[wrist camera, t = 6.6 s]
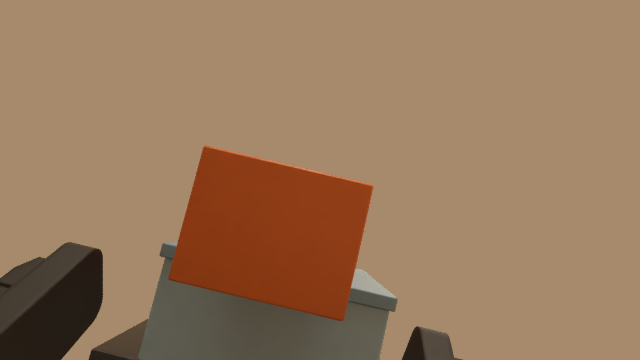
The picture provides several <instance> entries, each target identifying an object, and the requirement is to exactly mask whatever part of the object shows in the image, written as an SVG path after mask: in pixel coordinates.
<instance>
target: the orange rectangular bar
mask: <svg viewBox="0 0 640 360" xmlns="http://www.w3.org/2000/svg"><path fill="white" fill-rule="evenodd" d="M372 191H373V185H371V184H367V183H363V182H359V181H354V180H350V179H346V178H342V177H337V176H333V175H329V174H324V173H320V172H316V171H312V170H308V169H303V168H299V167H295V166H290V165H286V164H282V163H278V162H273V161H269V160H265V159H261V158H256V157H252V156H247V155H244V154H239V153H235V152H231V151H226V150H222V149H218V148H213V147H210V146H204V147H203V151H202V155H201V159H200V162H199V166H198V169H197V173H196V177H195V181H194V185H193V188H192V192H191V195H190V199H189V203H188V206H187V210H186V214H185V217H184V221H183V225H182V228H181V232H180V236H179V240H178V243H177V247H176V251H175V254H174V258H173V262H172V265H171V269H170V273H169V276H168V279H169V280H171V281H175V282H179V283H183V284H188V285H192V286H196V287H200V288H204V289H209V290H213V291H217V292H221V293H225V294H229V295H234V296H238V297H242V298H246V299H250V300H255V301H259V302H263V303H267V304H271V305H276V306H280V307H284V308H288V309H292V310H297V311H301V312H305V313H309V314H313V315H317V316H322V317H326V318H330V319H334V320H338V321H343V320H344V317H345V313H346V308H347V304H348V299H349V295H350V290H351V286H352V281H353V277H354V272H355V268H356V263H357V258H358V254H359V249H360V245H361V240H362V236H363V232H364V227H365V222H366V218H367V213H368V209H369V204H370V199H371V195H372Z"/></svg>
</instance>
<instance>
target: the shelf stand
mask: <svg viewBox="0 0 640 360" xmlns="http://www.w3.org/2000/svg"><path fill="white" fill-rule="evenodd" d="M147 323H148V319H147V320H145V321H143V322H141V323H139V324H138V325H136V326H134V327H132V328H130V329H128V330H127V331H125V332H123V333H121V334H119V335H117V336H116V337H114V338H112V339H110V340H108V341H106V342H105V343H103V344H101V345H99V346H97V347H95V348H93V349H92V350H91V354H90V357H89V360H139V359H138V356H139V352H140V348H141V345H142V341H143V337H144V334H145V330H146V326H147Z"/></svg>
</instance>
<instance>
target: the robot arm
mask: <svg viewBox="0 0 640 360" xmlns="http://www.w3.org/2000/svg"><path fill="white" fill-rule="evenodd" d="M102 298H103V255H102V252H101V250H99V249H96V248H92V247H88V246H84V245H80V244H75V243H71V242H68V243H65V244H64V245H62V246H61V247H60V248H58V249H57V250H56V251H55V252H53V253H52V254H51V255H50V256H48V257H47V258H46V259H45V258H41V257H38V258H36V259H33V260H31V261H29V262H26V263H24V264H22V265H19V266H17V267H15V268H13V269H12V270H11V271H9V272H8V273H7V274H5V275H4V276H3V277H2V278H0V360H61V359H62V358H63V357H64V356H65V354H66V353H67V352H68V351H69V350H70V348H71V347H72V346H73V345H74V344H75V342H76V341H77V340H78V339H79V338H80V337H81V335H82V334H83V333H84V332H85V331H86V330H87V329H88V327H89V326H90V325H91V324H92V323H93V321H94V320H95V318H96V316H97V314H98V312H99V310H100V307H101V303H102ZM402 360H462V359H457V358H454V356H453V351H452V347H451V343H450V339H449V336H448V335H447V334H446V333H443V332H438V331H435V330H431V329H426V328H422V327H416V328H415V329H414V330H413V332H412V335H411V338H410V340H409V343H408V345H407V348H406V351H405V353H404V356H403V358H402Z"/></svg>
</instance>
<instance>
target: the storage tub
mask: <svg viewBox="0 0 640 360" xmlns="http://www.w3.org/2000/svg"><path fill="white" fill-rule="evenodd" d="M177 243H178V241H177V242H168V243H163V244H162V248H161V252H160V256H161V257H165V260H164V264H163V268H162V272H161V275H160V279H159V282H158V286H157V290H156V294H155V297H154V301H153V304H152V308H151V312H150V315H149V319H148V323H147V326H146V330H145V334H144V337H143V341H142V345H141V348H140V352H139V356H138V359H139V360H379V358H380V353H381V348H382V343H383V339H384V334H385V329H386V324H387V320H388V315H389V311H393V312H394V311H395V309H396V304H397V298H396V297H395V296H394V295H393V294H391V293H390V292H389V291H388V290H387V289H385V288H384V287H383V286H382V285H380V284H379V283H378V282H377V281H375V279H373V278H372V277H371V276H370V275H369V274H367V273H366V272H365V271H364V270H361V269H356V268H355V272H354V277H353V281H352V286H351V290H350V295H349V299H348V304H347V308H346V313H345V317H344V320H343V321H338V320H334V319H330V318H326V317H322V316H317V315H313V314H309V313H305V312H301V311H297V310H292V309H288V308H284V307H280V306H276V305H271V304H267V303H263V302H259V301H255V300H250V299H246V298H242V297H238V296H234V295H229V294H225V293H221V292H217V291H213V290H209V289H204V288H200V287H196V286H192V285H188V284H183V283H179V282H175V281H171V280H169V279H168V276H169V273H170V269H171V265H172V262H173V258H174V254H175V251H176V247H177Z"/></svg>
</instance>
